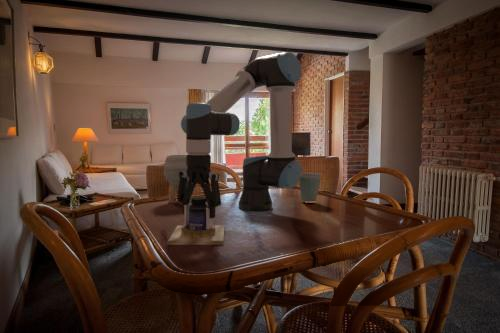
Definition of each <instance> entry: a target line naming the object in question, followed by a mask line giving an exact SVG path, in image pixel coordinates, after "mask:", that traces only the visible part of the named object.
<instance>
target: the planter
mask: <svg viewBox="0 0 500 333" xmlns="http://www.w3.org/2000/svg"><path fill="white" fill-rule="evenodd" d="M187 155H188V154H168V155H167V156H166V157H165V161H164V164H163V175H164V178H165V179H166V181H167V182H168V183H169V184H171V186H170V193H169V196H168V201H167V202H168V203H169V204H172V203H173V202H174V200H175V196H176V192H177V190H178V186H179V181H180V178H179V172H182V171H187V168H188V167H187V166H186V156H187ZM188 180H189V177H187V183H188ZM186 188H187V186H186ZM191 198H193V195H192V196H191ZM189 204H192V202H191V199H190V203H189Z"/></svg>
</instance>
